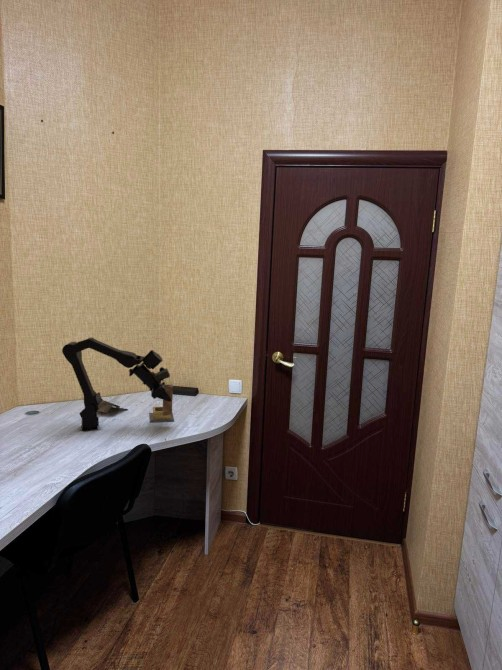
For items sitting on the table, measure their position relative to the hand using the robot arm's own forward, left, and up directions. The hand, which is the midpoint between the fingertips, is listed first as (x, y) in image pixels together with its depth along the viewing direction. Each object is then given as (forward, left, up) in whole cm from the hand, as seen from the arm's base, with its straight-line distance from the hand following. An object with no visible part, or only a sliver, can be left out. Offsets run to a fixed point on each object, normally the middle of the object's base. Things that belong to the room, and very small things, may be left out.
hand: (170, 399), depth 203 cm
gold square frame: (0, +14, -13) cm, 19 cm away
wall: (-22, +33, -14) cm, 42 cm away
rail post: (-1, 0, -7) cm, 7 cm away
